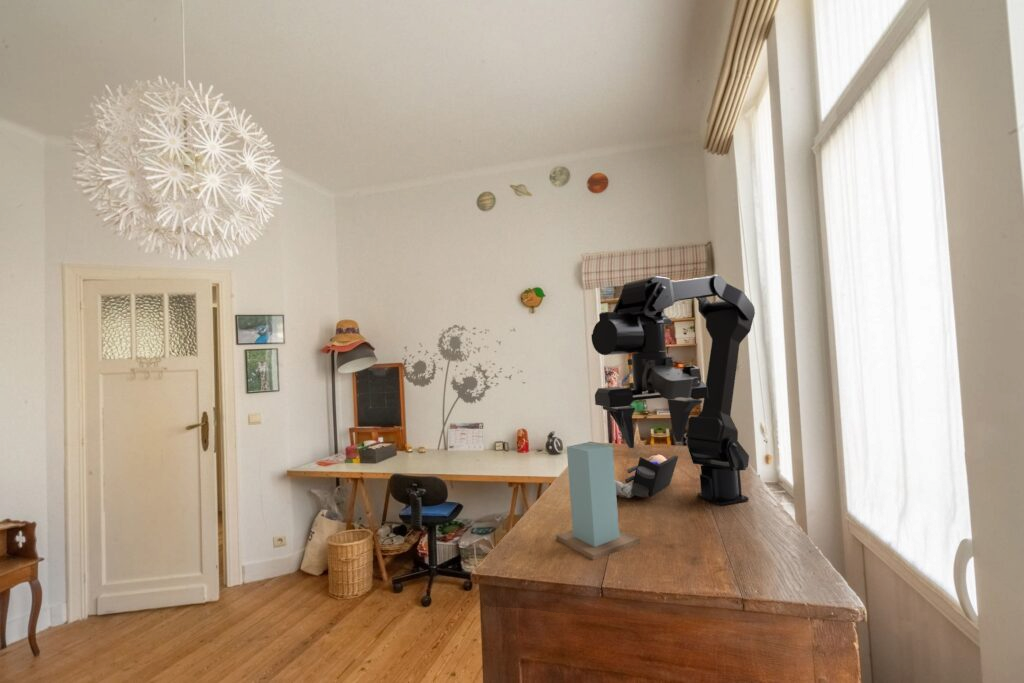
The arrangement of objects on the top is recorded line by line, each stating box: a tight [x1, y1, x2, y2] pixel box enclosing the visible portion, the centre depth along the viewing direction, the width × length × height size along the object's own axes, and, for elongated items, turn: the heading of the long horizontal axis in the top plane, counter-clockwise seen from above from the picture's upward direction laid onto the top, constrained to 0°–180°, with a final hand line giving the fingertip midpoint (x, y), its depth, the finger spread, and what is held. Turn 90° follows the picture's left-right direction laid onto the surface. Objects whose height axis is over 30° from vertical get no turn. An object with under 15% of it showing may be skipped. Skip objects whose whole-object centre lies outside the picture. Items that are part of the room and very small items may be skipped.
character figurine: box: [624, 453, 679, 498], centre depth 91 cm, size 8×7×15 cm
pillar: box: [566, 441, 620, 547], centre depth 69 cm, size 5×5×14 cm
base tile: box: [555, 529, 640, 561], centre depth 69 cm, size 9×9×2 cm
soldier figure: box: [615, 479, 636, 499], centre depth 90 cm, size 8×5×12 cm
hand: (655, 444), depth 75 cm, fingers open, 9 cm apart
